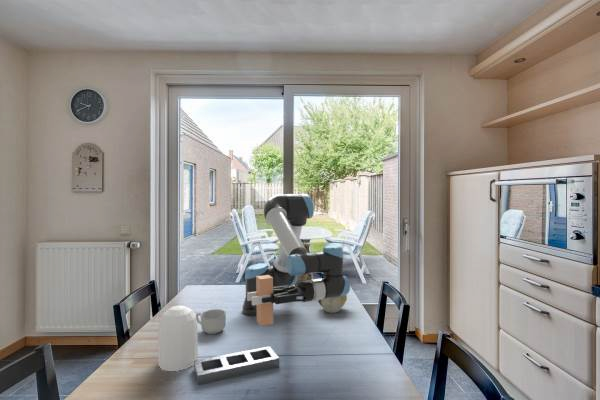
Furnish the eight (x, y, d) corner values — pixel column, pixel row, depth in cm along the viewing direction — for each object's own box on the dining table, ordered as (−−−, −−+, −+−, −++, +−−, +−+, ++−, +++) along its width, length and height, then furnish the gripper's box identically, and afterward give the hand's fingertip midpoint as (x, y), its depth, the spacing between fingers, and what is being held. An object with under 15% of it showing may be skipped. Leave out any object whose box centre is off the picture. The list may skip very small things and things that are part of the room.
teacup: (231, 328, 153) (230, 311, 153) (215, 338, 144) (215, 319, 143) (206, 324, 159) (206, 306, 159) (189, 332, 149) (189, 314, 149)
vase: (292, 295, 203) (292, 244, 202) (296, 290, 214) (295, 241, 213) (310, 295, 201) (310, 244, 201) (312, 290, 212) (312, 241, 211)
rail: (194, 369, 118) (193, 360, 118) (269, 354, 129) (269, 346, 129) (198, 384, 108) (197, 375, 108) (279, 366, 119) (279, 358, 119)
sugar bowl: (325, 318, 165) (325, 287, 165) (307, 309, 177) (307, 280, 177) (356, 310, 176) (356, 280, 176) (337, 302, 188) (337, 275, 188)
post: (256, 321, 122) (256, 276, 122) (269, 319, 124) (268, 274, 123) (260, 325, 118) (260, 279, 117) (273, 323, 120) (272, 277, 119)
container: (156, 358, 126) (155, 304, 126) (193, 350, 133) (192, 298, 132) (161, 375, 114) (160, 315, 114) (202, 365, 121) (201, 308, 120)
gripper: (322, 307, 120) (257, 318, 110) (300, 294, 136) (242, 302, 126) (321, 286, 120) (257, 294, 110) (300, 275, 136) (242, 282, 126)
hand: (249, 298), depth 118 cm, fingers closed on post, 5 cm apart
